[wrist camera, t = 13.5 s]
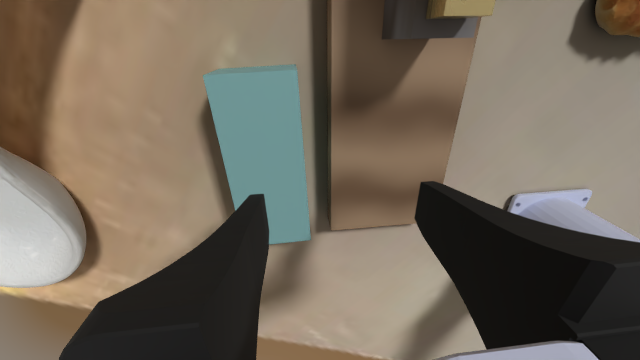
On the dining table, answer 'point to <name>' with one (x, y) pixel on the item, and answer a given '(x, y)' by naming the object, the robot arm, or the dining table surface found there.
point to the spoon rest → (36, 226)
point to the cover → (263, 143)
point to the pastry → (619, 16)
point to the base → (390, 105)
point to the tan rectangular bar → (459, 9)
